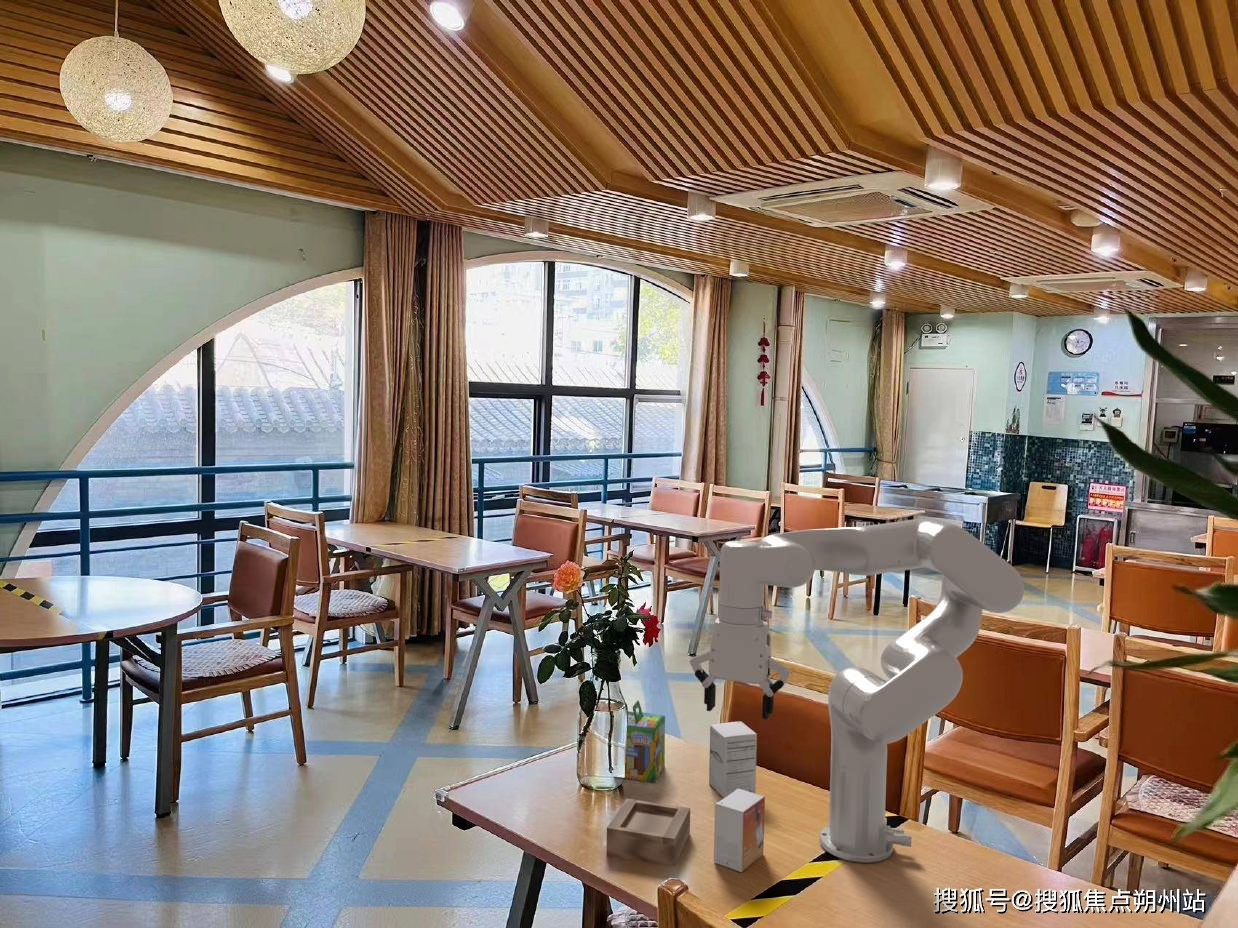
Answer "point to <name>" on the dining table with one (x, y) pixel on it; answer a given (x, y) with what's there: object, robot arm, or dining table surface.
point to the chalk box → (644, 745)
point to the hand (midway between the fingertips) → (738, 712)
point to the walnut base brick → (648, 832)
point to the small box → (739, 829)
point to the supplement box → (732, 758)
